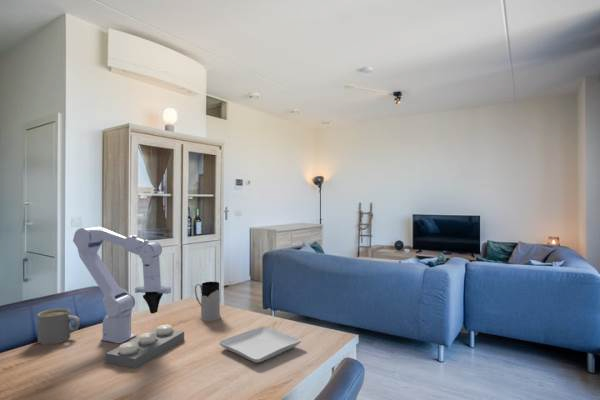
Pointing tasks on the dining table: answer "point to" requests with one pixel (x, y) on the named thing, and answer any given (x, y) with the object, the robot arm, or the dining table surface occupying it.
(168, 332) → the knob
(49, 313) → the coffee mug
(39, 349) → the dining table surface
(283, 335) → the salad plate
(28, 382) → the dining table surface
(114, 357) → the mount
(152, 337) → the knob
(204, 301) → the grey black pitcher
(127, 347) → the knob
